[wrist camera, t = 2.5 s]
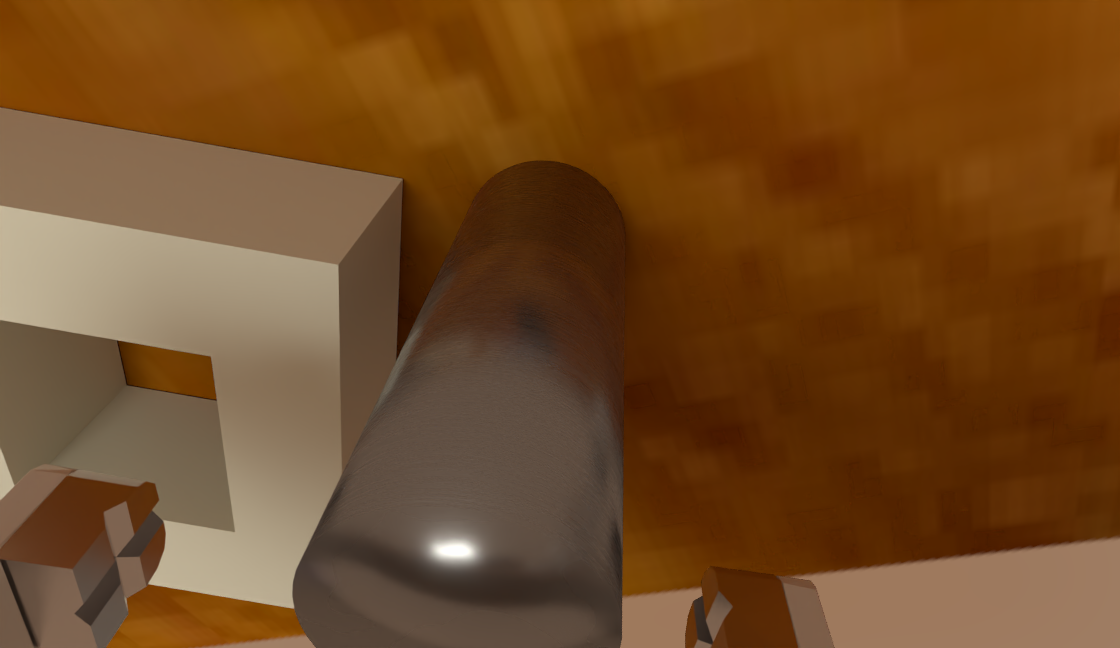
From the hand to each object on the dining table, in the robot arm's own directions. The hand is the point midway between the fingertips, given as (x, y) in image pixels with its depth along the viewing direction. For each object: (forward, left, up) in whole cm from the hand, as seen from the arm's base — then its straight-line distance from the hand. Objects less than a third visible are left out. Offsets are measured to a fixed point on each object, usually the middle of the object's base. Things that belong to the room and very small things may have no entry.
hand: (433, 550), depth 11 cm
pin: (-1, 0, -11) cm, 11 cm away
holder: (+9, +5, -11) cm, 15 cm away
